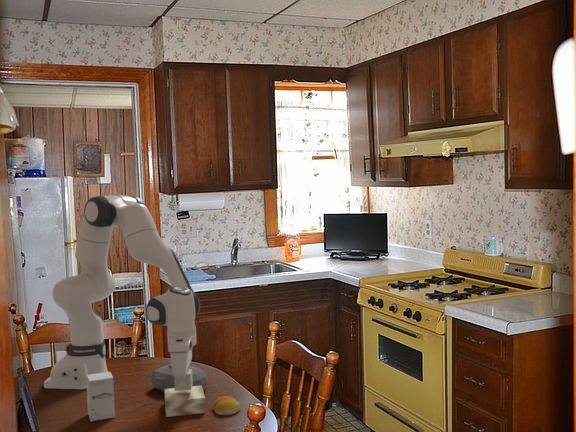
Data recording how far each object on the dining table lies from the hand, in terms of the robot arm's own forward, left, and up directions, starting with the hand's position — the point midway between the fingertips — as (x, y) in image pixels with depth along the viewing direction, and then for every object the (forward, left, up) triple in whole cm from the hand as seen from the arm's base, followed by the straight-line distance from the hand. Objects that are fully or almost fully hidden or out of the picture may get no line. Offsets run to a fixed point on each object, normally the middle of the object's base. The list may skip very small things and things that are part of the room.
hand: (183, 382), depth 199 cm
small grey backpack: (-3, +18, -8) cm, 20 cm away
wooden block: (0, 0, -8) cm, 8 cm away
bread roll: (+13, -4, -8) cm, 16 cm away
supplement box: (-25, -4, -8) cm, 27 cm away
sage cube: (0, 0, -2) cm, 2 cm away
